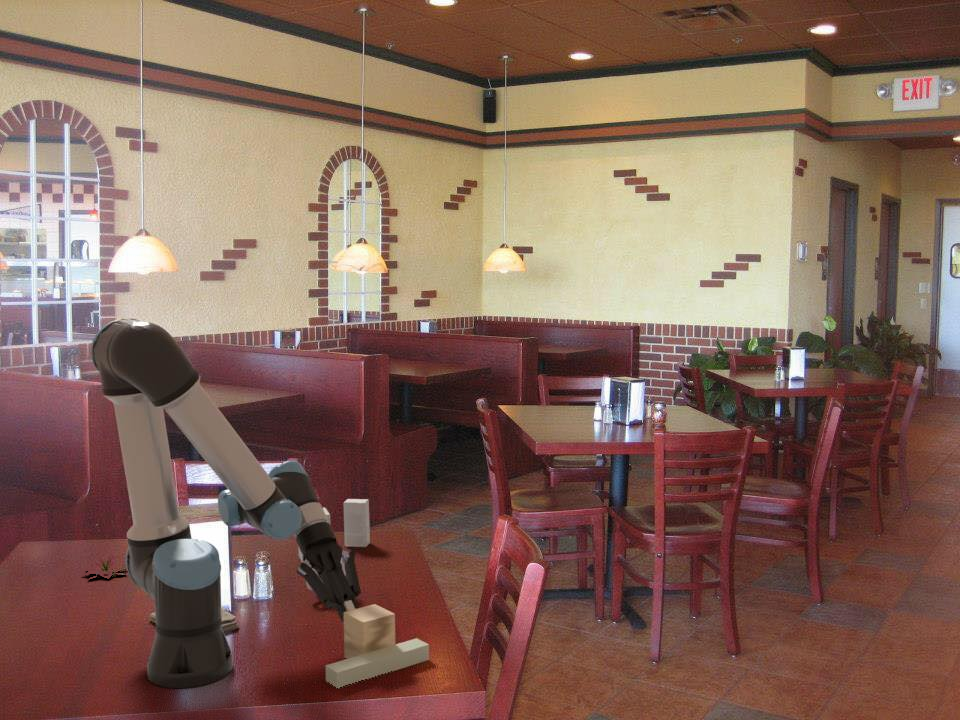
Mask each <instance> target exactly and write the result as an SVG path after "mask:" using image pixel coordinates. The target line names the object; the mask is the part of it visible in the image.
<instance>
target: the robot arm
mask: <svg viewBox="0 0 960 720" xmlns="http://www.w3.org/2000/svg"><path fill="white" fill-rule="evenodd" d="M90 356H91V357H90V358H91V360H92V363H93V366H94V367H95V369H96V370H97V371H98V372H99V377H100V383H101V388H102V395H103V397H104V398H106V399H107V400H108V401H110V402H111V403H113V408H114V414H115V420H116V425H117V427H116V428H117V432H118V438H119V443H120V451H121V457H122V461H123V463H122V464H123V467H124V468H123V469H124V474H125V479H126V486H127V492H128V493H127V494H128V498H129V505H130V511H131V517H132V518H131V519H132V522H133V524H132V526H130V528H129V529H128V530H127V532H126V539H127V545H128V547H127V549H126V553H125V568H126V569H127V570H126V571H127V573H128V575H129V578H130V579H131V581H132V582H133V584H135V585H136V586H137V587H138V588H139V589H140V590H141V591H143V592H144V593H145V594H146V595H148V596H149V597H150V598H151V599H152V600H153V601H154V612H155V621H156V624H155V636H154V640H153V643H152V646H151V649H150V654H149V656H148V659H147V664H146V672H147V673H146V676H148V677H147V679H148V680H150V681H149V682H151V683H152V682H153V683H152V684H154V685H156V686H159V687H163V688H169V689H170V688H172V689H182V688H183V689H185V688H194V687H200V686H203V685H204V686H205V685H208V684H211V683H214V682H216V681H219V680H222V679H223V678H225V677H226V676H227V675H229V674H230V673H231V672H232V670H233V665H234V662H233V660H234V659H233V653H232V652H233V651H232V650H231V647H230V645H229V643H228V640H227V637H226V634H225V633H224V631H223V629H222V618H221V608H222V587H221V584H222V583H221V578H222V577H221V572H222V563H221V560H220V553H219V551H218V549H217V548H216V546H215V545H214V544H212V543H210V542H208V541H204V540H198V538H197V539H196V538H192V533H191V528H190V521H189V520H187V519H186V518H184V517H183V516H181V515H180V508H179V502H178V496H177V490H176V488H177V487H176V484H175V483H176V482H175V476H174V470H173V463H172V458H171V452H170V444H169V437H168V433H167V432H168V431H167V426H166V420H165V419H166V418H165V413H164V411H165V412H166V413H167V414H168V416H169V417H170V419H171V420H172V421H173V422H174V423H175V424H176V426H177V427H178V428H179V430H180V431H181V432H182V433H183V435H185V437H186V439H187V440H188V441H189V442H190V443H191V445H192V446H193V447H194V449H195V450H196V451H197V453H199V455H200V456H201V458H202V459H203V460H204V461H205V463H207V465H208V466H209V467H210V469H211V470H212V471H213V473H215V475H216V476H217V477H218V479H219V480H220V481H221V482H222V483H223V485H224V486H225V487H226V489H224V490H222V491H220V493H219V494H218V497H217V508H218V512H219V515H220V516H219V517H220V518H221V520H222V522H223V523H224V525H226V526H227V527H234V526H242V525H243V524H247V525H248V526H251V527H252V528H254V529H257V530H258V531H259V532H261V533H263V534H264V535H265V536H267V537H268V538H273V539H275V540H280V541H283V540H287V539H290V538H292V537H293V536H294V537H295V541H296V543H297V546H299V549H300V551H301V553H302V554H303V561H304V562H303V563H302V562H301V563H300V565H299V566H298V567H297V569H296V573H297V574H298V575H299V576H301V577H302V578H303V579H305V582H306V581H307V582H308V584H309V585H310V587H311V588H312V589H313V590H312V591H313V592H314V594H315V595H316V596H317V598H318V599H319V600H320V601H321V603H322V605H323V606H324V607H325V608H327V609H328V608H330V607H332V608H331V609H332V610H334V611H336V612H337V614H338V616H339V618H340V621H341V622H342V623H344V612H346V611H350V610H354V609H358V608H359V606H358V604H357V602H356V600H357V598H359V597H360V595H361V593H362V592H361V591H362V590H361V585H360V581H359V576H358V571H357V567H356V564H355V558H356V552H355V551H354V550H350V551H346V550H343V547H342V546H341V545H340V544H339V543H338V541H337V537H336V534H335V531H334V530H333V528H332V526H331V523H330V524H329V523H328V518H327V516H326V514H325V512H324V510H323V508H324V507H323V506H322V504H321V503H320V501H319V498H318V495H317V493H316V491H315V489H314V487H313V484H312V482H311V478H310V476H309V474H308V473H307V471H306V470H305V468H304V466H303V465H302V464H301V462H299V461H297V460H287V461H283V462H282V463H280V464H277V465H275V466H274V467H273V468H272V469H271V470H270V471H269V473H268V472H267V471H266V470H265V468H264V467H263V466H262V465H261V463H260V462H259V460H258V459H257V457H255V455H254V454H253V452H252V451H251V450H250V448H249V447H248V446H247V445H246V443H245V442H244V441H243V438H241V437H240V435H239V434H238V433H237V431H236V430H235V429H234V428H233V426H232V424H231V423H230V422H229V421H228V419H227V418H226V417H225V415H224V414H223V413H222V412H221V411H220V409H219V408H218V407H217V405H216V404H215V402H214V401H213V400H212V398H211V397H210V395H208V393H207V391H206V390H205V389H204V388H203V386H202V385H201V382H200V381H201V375H200V373H199V371H198V370H197V369H196V368H195V366H194V364H193V363H192V362H191V360H190V359H189V358H188V356H187V354H186V353H185V352H184V351H183V350H182V348H181V347H180V345H179V344H178V343H177V341H176V340H175V338H174V337H173V336H172V334H170V332H168V331H167V330H166V329H165V328H163V326H160V325H158V324H156V323H153V322H150V321H149V322H148V321H141V320H138V319H134V318H121V319H117V320H115V319H114V320H112V321H109V322H108V323H106V324H104V325H103V326H101V328H100V329H99V330H98V331H97V332H96V334H95V335H94V337H93V339H92V341H91V345H90ZM299 549H298V550H299ZM341 557H342V559H343V563H345V572H346V576H345V574H344V572H343V570H342V564H341V562H340V561H341ZM312 568H313V569H314V570H316V571H317V573H318V575H317V574H316V573H315V571H314V570H313V569H312ZM318 576H319V577H318ZM321 579H322V581H323V582H322V581H321Z"/></svg>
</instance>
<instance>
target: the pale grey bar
mask: <svg viewBox="0 0 960 720" xmlns="http://www.w3.org/2000/svg"><path fill="white" fill-rule="evenodd" d="M427 661H430V644H429V643H427V642H425V641H423V640H421V639H419V638H418V637H416V638H413V639H409V640H406V641H404V642H403V641H402V642H399V643H395V645H392V646H389V647H386V648H382V649H379V650H375V651H372V652H369V653H365V654H362V655H359V656H355V657H352V658H349V659H345V658H344V659H341V660H339V661H336V662H333V663H329V664H325V682H326V681H327V682H326V683H328V682H329V683H330V684H329V683H328V684H329V685H331V684H332V685H333V686H332V685H331V686H332V687H334V686H335V687H336V689H337V688H338V689H341V688H340V687H342V688H344V687H343V686H345V685H348V684H351V685H353V684H352V683H354V684H356V683H355V682H357V683H359V682H358V681H361V680H364V681H366V680H365V679H367V680H370V679H372V677H373V678H376V677H379V676H378V675H380V676H382V675H381V674H383V675H386V674H389V673H392V672H394V671H398V670H401V669H405V668H408V667H410V666H413V665H417V664H421V663H424V662H427ZM391 671H392V672H391ZM388 672H389V673H388ZM385 673H386V674H385ZM375 676H376V677H375ZM369 678H370V679H369ZM361 682H362V681H361ZM348 686H349V685H348ZM335 687H334V688H335ZM345 687H346V686H345Z"/></svg>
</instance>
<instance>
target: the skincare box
mask: <svg viewBox="0 0 960 720" xmlns="http://www.w3.org/2000/svg"><path fill="white" fill-rule="evenodd" d="M369 501H370V500H369V498H368V499H367V498H366V499H365V498H363V499H360V498H347V499H346V500H345V501H344V502H343V503H342V505H343V530H344V531H343V532H344V533H343V534H344V539H343V540H344V547H345V548H346V547H347V548H348V547H349V548H350V547H353V548H366V547H367V546H368V545H370V543H371V538H370V537H371V535H370V533H371V532H370V531H371V530H370V502H369Z"/></svg>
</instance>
